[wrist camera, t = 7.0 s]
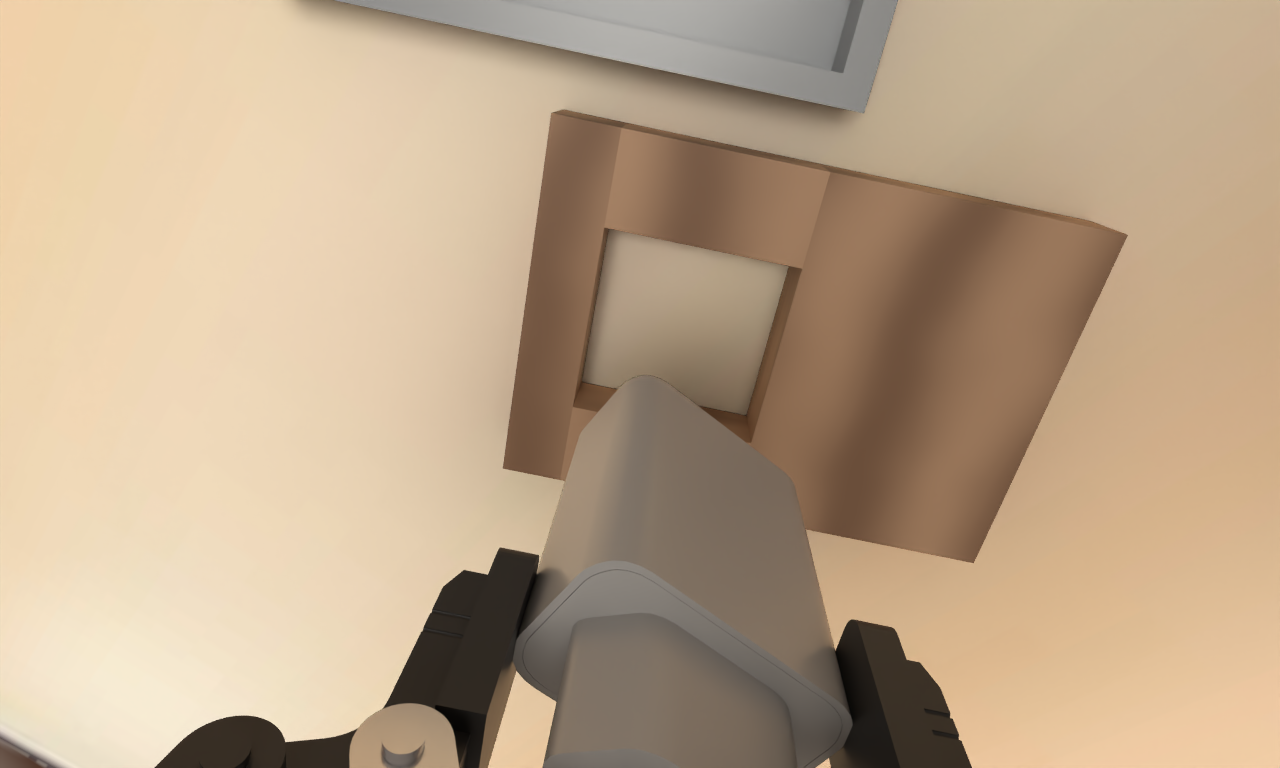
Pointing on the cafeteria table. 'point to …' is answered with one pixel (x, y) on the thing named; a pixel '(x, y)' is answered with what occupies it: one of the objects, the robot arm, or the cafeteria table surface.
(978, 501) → the dock board
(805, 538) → the power adapter
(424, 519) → the cafeteria table surface
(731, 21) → the tray
